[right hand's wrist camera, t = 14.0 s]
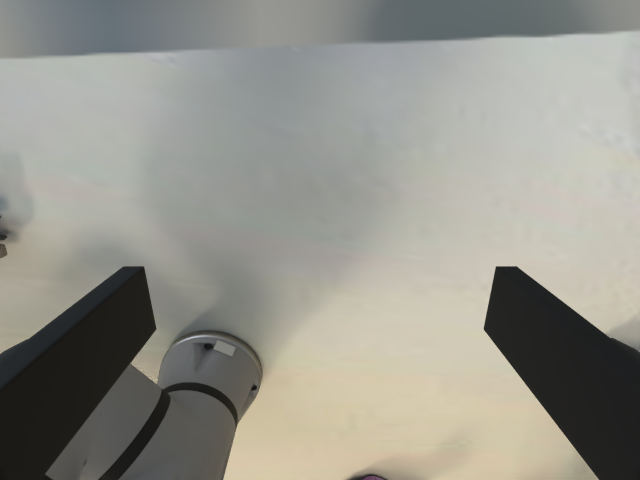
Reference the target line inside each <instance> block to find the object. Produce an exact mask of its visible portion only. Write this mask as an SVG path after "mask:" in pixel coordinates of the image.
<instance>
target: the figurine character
mask: <svg viewBox="0 0 640 480" xmlns="http://www.w3.org/2000/svg"><path fill="white" fill-rule="evenodd" d="M0 218H1V217H0ZM6 238H7V236H5V235H4V234H0V240H4V239H6ZM6 255H7V251H6V247H5V245H4V244H0V258H2V257H4V256H6Z"/></svg>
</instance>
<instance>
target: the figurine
mask: <svg viewBox="0 0 640 480" xmlns="http://www.w3.org/2000/svg"><path fill="white" fill-rule="evenodd" d="M360 480H384V479H382V478H379V477H376V476H368V477H365V478H363V479H360Z"/></svg>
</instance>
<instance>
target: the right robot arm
mask: <svg viewBox="0 0 640 480" xmlns="http://www.w3.org/2000/svg"><path fill="white" fill-rule="evenodd" d="M155 330H156V325H155V320H154V315H153V310H152V305H151V300H150V295H149V289H148V284H147V279H146V274H145V269H144V267H122V268H121V269H120V270H118V271H117V272H116V273H114V274H113V275H112V276H110V277H109V278H108V279H106V280H105V281H104V282H103V283H101V284H100V285H99V286H97V287H96V288H95V289H93V290H92V291H91V292H89V293H88V294H87V295H86V296H84V297H83V298H82V299H80V300H79V301H78V302H76V303H75V304H74V305H73V306H71V307H70V308H69V309H67V310H66V311H65V312H63V313H62V314H61V315H59V316H58V317H57V318H56V319H54V320H53V321H52V322H50V323H49V324H48V325H46V326H45V327H44V328H42V329H41V330H40V331H39V332H37V333H36V334H35V335H33V336H32V337H31V338H29V339H27V340H25V341H23V342H21V343H19V344H17V345H15V346H13V347H11V348H10V349H8V350H6V351H4V352H3V353H1V354H0V480H223V478H224V474H225V470H226V466H227V463H228V459H229V455H230V451H231V447H232V443H233V440H234V436H235V431H236V428H237V424H238V422H239V421H240V419H241V418H242V417H243V415H244V414H245V412H246V411H247V409H248V408H249V407H250V405H251V404H252V402H253V401H254V399H255V397H256V395H257V393H258V391H259V387H260V383H261V378H262V370H261V365H260V362H259V360H258V358H257V356H256V354H255V353H254V352H253V350H252V349H251V348H250V347H249V346H248V345H247V344H245V343H244V342H243V341H241V340H240V339H238V338H236V337H234V336H232V335H229V334H226V333H223V332H218V331H198V332H194V333H190V334H188V335H185V336H183V337H181V338H180V339H178V340H177V341H176V342H175V343H174V344H173V345H172V346H171V347H170V349H169V350H168V352H167V353H166V355H165V356H164V358H163V360H162V363H161V366H160V371H159V377H158V383H157V384H155V383H154V382H153V381H152V380H150V379H149V378H148V377H147V376H145V375H144V374H143V373H142V372H140V371H139V370H138V369H136V368H135V367H134V366H133V365H132V364H130V363H131V362H132V360H133V359H134V358H135V356H136V355H137V354H138V352H139V351H140V350H141V349H142V347H143V346H144V345H145V343H146V342H147V341H148V339H149V338H150V337H151V335H152V334H153V333H154V332H155ZM484 330H485V332H486V333H487V334H488V335H489V337H490V338H491V339H492V341H493V342H494V343H495V345H496V346H497V347H498V349H499V350H500V351H501V352H502V354H503V355H504V356H505V358H506V359H507V360H508V362H509V363H510V364H511V365H512V367H513V368H514V369H515V371H516V372H517V373H518V375H519V376H520V377H521V378H522V380H523V381H524V382H525V384H526V385H527V386H528V388H529V389H530V390H531V392H532V393H533V394H534V395H535V397H536V398H537V399H538V401H539V402H540V403H541V405H542V406H543V407H544V408H545V410H546V411H547V412H548V414H549V415H550V416H551V418H552V419H553V420H554V421H555V423H556V424H557V425H558V427H559V428H560V429H561V431H562V432H563V433H564V435H565V436H566V437H567V438H568V440H569V441H570V442H571V444H572V445H573V446H574V448H575V449H576V450H577V451H578V453H579V454H580V455H581V457H582V458H583V459H584V461H585V462H586V463H587V464H588V466H589V467H590V468H591V470H592V471H593V472H594V474H595V475H596V476H597V478H598V479H599V480H640V352H638V351H637V350H635V349H633V348H631V347H629V346H627V345H626V344H624V343H622V342H620V341H618V340H616V339H614V338H609V337H608V336H607V335H605V334H604V333H603V332H601V331H600V330H599V329H598V328H596V327H595V326H594V325H592V324H591V323H590V322H588V321H587V320H586V319H584V318H583V317H582V316H581V315H579V314H578V313H577V312H575V311H574V310H573V309H571V308H570V307H569V306H567V305H566V304H565V303H564V302H562V301H561V300H560V299H558V298H557V297H556V296H554V295H553V294H552V293H551V292H549V291H548V290H547V289H545V288H544V287H543V286H541V285H540V284H539V283H537V282H536V281H535V280H534V279H532V278H531V277H530V276H528V275H527V274H526V273H524V272H523V271H522V270H520V269H519V268H518V267H496V269H495V274H494V279H493V284H492V289H491V295H490V300H489V305H488V310H487V315H486V320H485V325H484Z"/></svg>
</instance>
